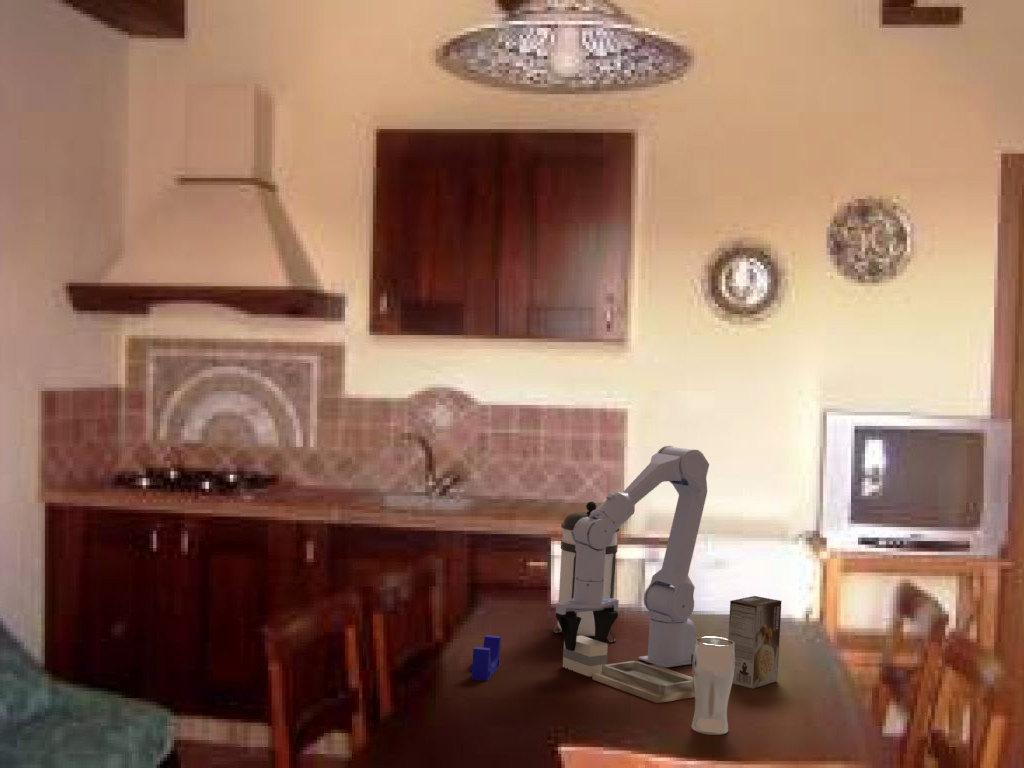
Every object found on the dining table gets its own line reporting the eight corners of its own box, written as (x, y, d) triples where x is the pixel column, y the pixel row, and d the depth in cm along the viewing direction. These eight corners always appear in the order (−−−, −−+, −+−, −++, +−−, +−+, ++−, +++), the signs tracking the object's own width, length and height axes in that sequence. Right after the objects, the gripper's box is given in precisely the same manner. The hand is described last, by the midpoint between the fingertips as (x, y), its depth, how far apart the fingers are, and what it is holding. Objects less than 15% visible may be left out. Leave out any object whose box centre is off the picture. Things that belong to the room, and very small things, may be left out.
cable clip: (476, 664, 245) (478, 634, 245) (499, 666, 244) (500, 636, 244) (463, 679, 233) (465, 647, 233) (487, 681, 233) (488, 650, 233)
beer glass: (684, 722, 212) (689, 635, 212) (724, 724, 213) (729, 636, 212) (694, 735, 205) (699, 645, 205) (735, 736, 206) (740, 646, 205)
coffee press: (631, 636, 277) (639, 502, 277) (597, 648, 264) (605, 507, 263) (564, 624, 286) (571, 494, 286) (528, 635, 273) (535, 499, 272)
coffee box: (749, 675, 248) (754, 594, 248) (778, 681, 244) (783, 600, 243) (724, 682, 241) (729, 599, 241) (753, 689, 237) (758, 605, 237)
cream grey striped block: (579, 665, 249) (581, 635, 249) (606, 674, 243) (608, 644, 242) (562, 667, 246) (563, 637, 246) (588, 677, 240) (590, 646, 240)
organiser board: (653, 670, 247) (655, 633, 247) (719, 692, 233) (721, 653, 233) (592, 679, 238) (594, 640, 238) (657, 703, 223) (659, 662, 223)
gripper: (603, 573, 252) (599, 640, 252) (547, 577, 243) (543, 646, 243) (627, 579, 246) (623, 648, 246) (570, 584, 237) (566, 654, 238)
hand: (585, 648), depth 244 cm, fingers open, 7 cm apart
